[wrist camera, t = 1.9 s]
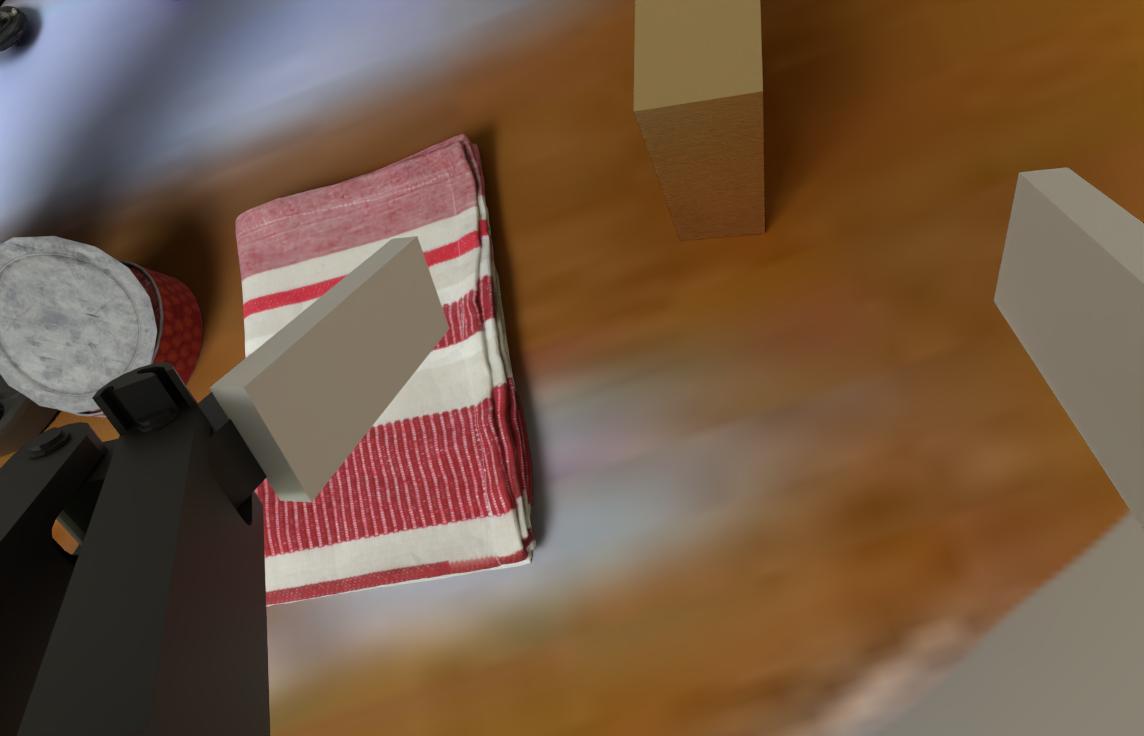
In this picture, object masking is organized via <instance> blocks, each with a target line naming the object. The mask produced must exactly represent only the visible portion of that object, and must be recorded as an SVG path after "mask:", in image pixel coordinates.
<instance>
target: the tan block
mask: <svg viewBox="0 0 1144 736" xmlns="http://www.w3.org/2000/svg"><path fill="white" fill-rule="evenodd" d="M634 114H635V117H636V120H637V123H638V125H639V128H640V131H641V134H642V136H643V139H644V142H645V145H646V148H647V150H648V153H649V156H650V159H651V161H652V164H653V167H654V170H655V173H656V175H657V178H658V181H659V184H660V186H661V189H662V192H663V195H664V198H665V200H666V203H667V206H668V209H669V211H670V214H671V217H672V220H673V223H674V225H675V228H676V231H677V234H678V237H679V239H680V241H684V240H695V239H706V238H717V237H728V236H739V235H751V234H762V233H765V198H764V128H763V75H762V41H761V7H760V0H635V47H634Z"/></svg>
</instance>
